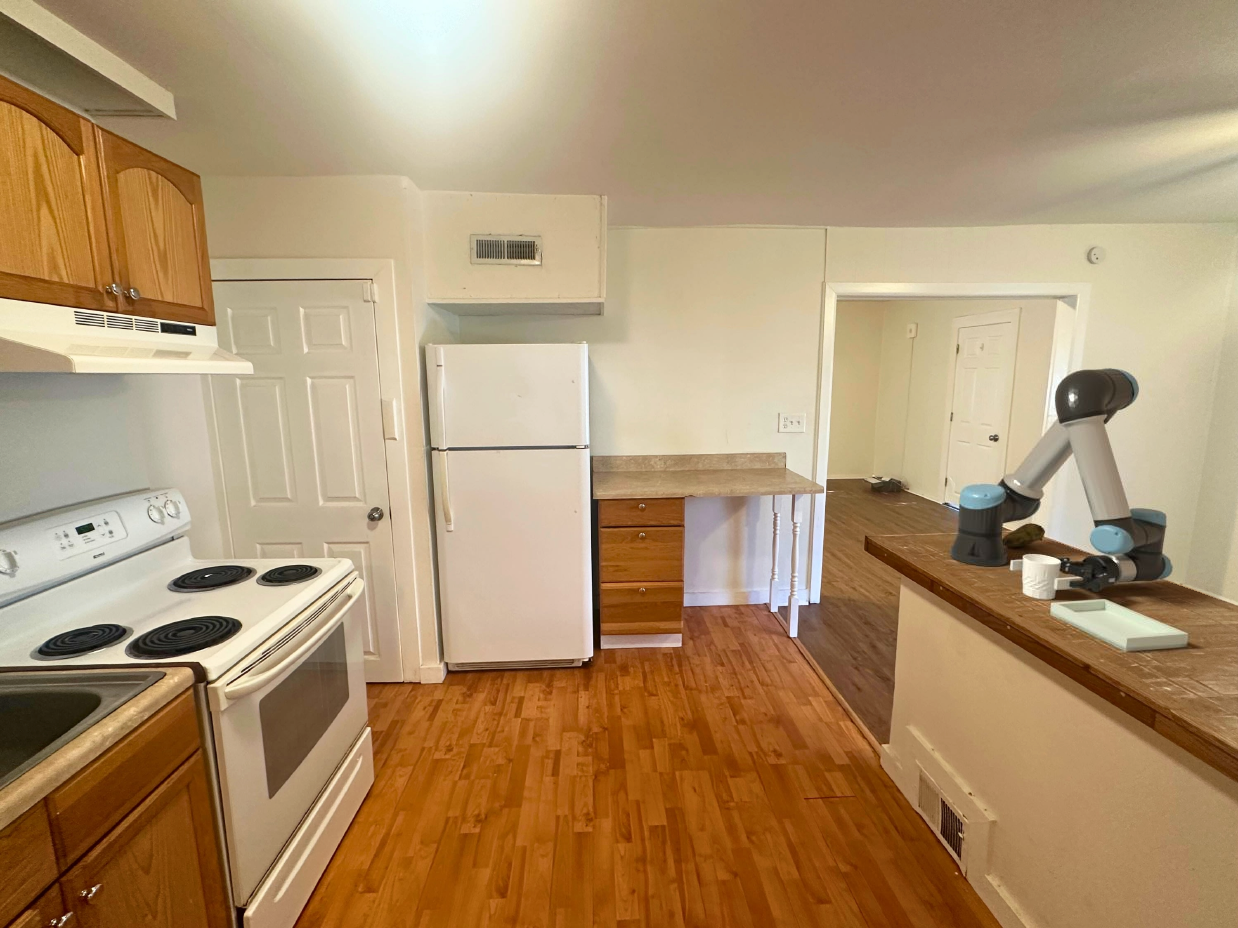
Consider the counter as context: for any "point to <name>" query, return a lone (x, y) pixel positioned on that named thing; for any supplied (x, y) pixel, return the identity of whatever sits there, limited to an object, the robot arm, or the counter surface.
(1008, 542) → the avocado
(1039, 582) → the white cup
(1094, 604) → the tray
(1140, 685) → the counter surface
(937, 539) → the counter surface
